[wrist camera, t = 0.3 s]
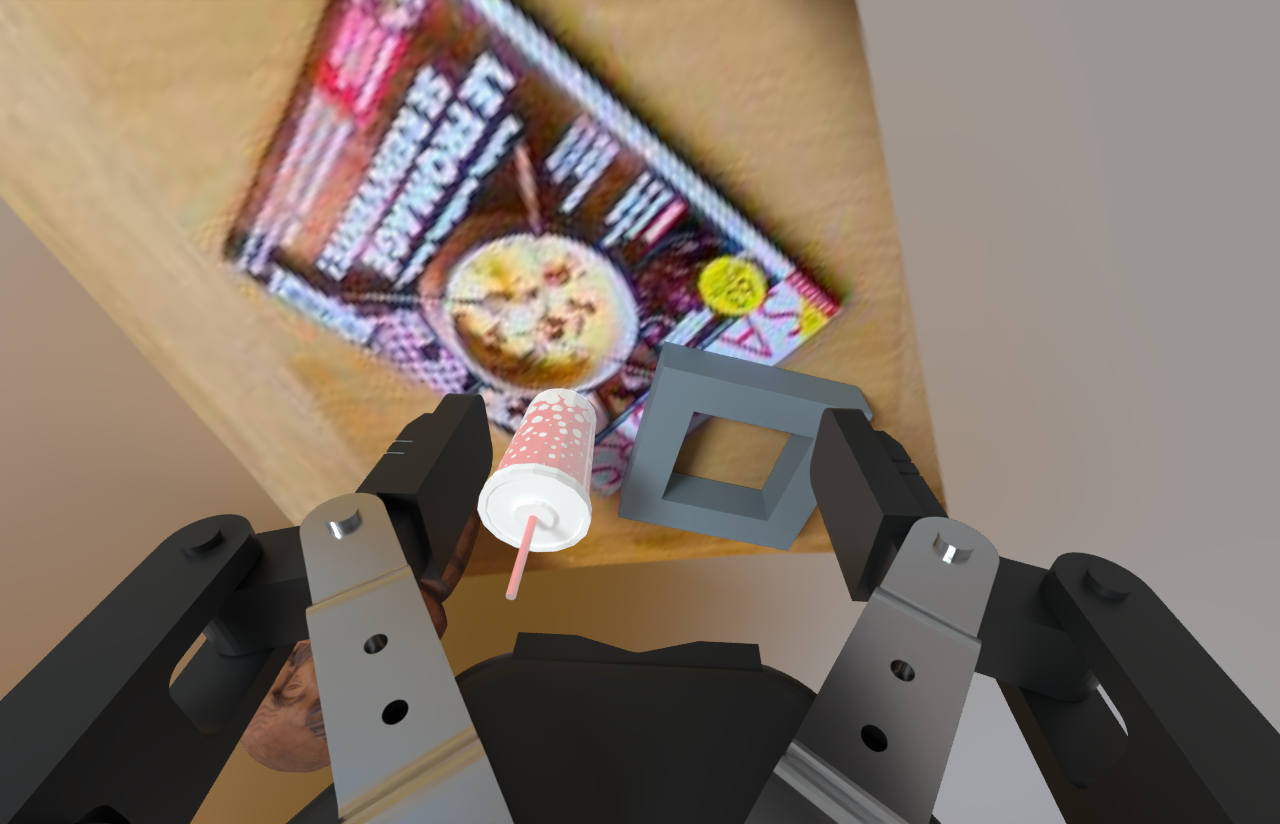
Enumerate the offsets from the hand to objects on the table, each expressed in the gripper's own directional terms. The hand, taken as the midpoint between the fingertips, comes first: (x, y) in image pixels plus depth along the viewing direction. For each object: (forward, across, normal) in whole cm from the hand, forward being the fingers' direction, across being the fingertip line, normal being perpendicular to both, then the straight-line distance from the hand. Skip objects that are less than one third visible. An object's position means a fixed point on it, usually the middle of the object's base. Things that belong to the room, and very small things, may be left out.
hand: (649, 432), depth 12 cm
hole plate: (+19, -5, +14) cm, 24 cm away
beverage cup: (+19, +6, +12) cm, 23 cm away
